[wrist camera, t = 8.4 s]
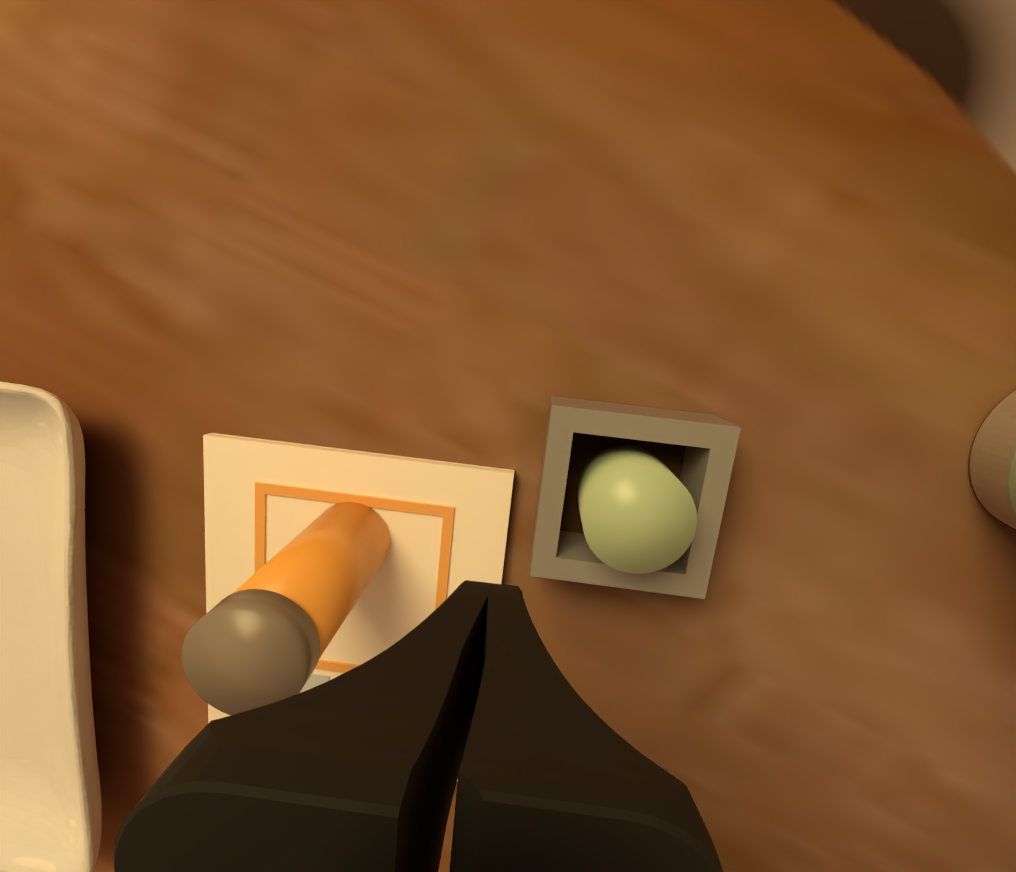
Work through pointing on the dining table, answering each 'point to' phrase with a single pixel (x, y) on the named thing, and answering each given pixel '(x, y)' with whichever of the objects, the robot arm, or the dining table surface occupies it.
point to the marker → (285, 612)
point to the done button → (634, 510)
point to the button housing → (700, 474)
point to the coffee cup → (996, 462)
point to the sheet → (369, 481)
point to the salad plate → (44, 641)
